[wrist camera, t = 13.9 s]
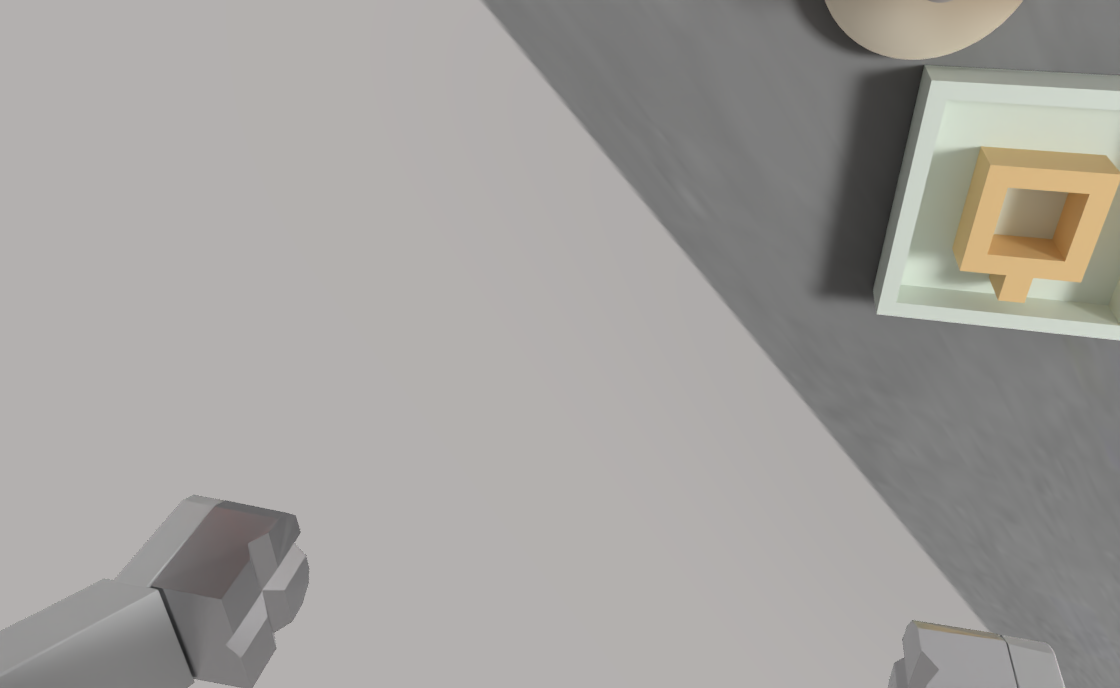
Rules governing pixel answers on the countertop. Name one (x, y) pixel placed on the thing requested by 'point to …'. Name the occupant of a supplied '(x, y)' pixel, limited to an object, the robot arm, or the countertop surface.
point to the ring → (1028, 256)
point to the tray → (944, 179)
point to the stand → (919, 24)
